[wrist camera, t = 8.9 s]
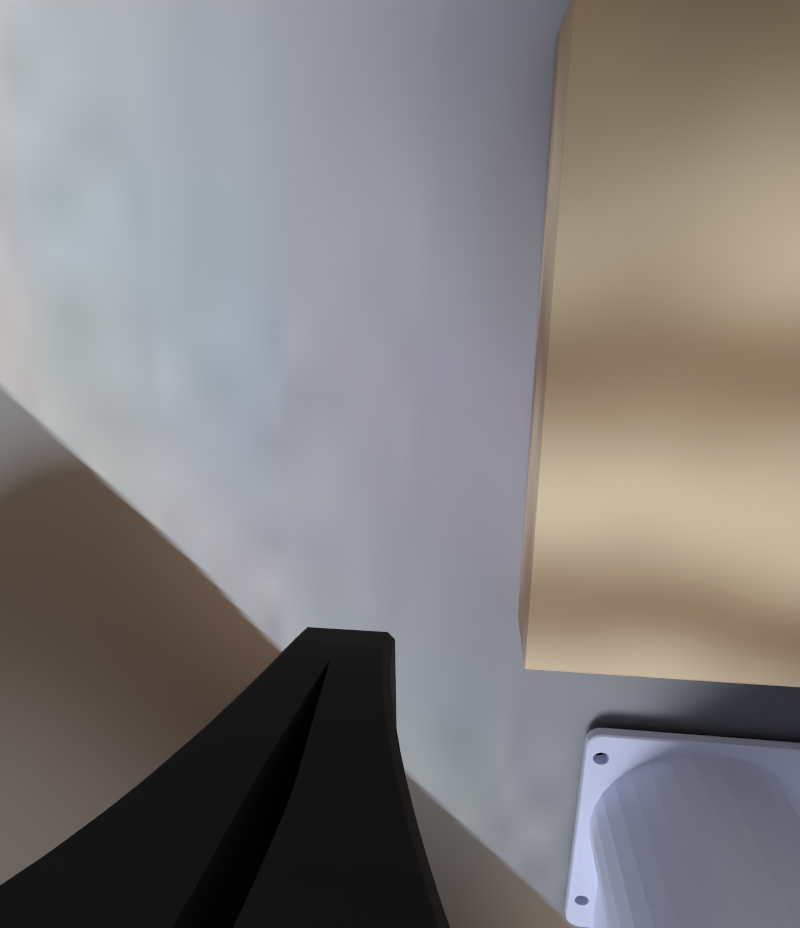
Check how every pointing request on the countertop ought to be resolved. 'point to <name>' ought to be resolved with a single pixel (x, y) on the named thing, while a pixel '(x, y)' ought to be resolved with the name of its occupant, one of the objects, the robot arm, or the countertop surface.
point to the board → (669, 348)
